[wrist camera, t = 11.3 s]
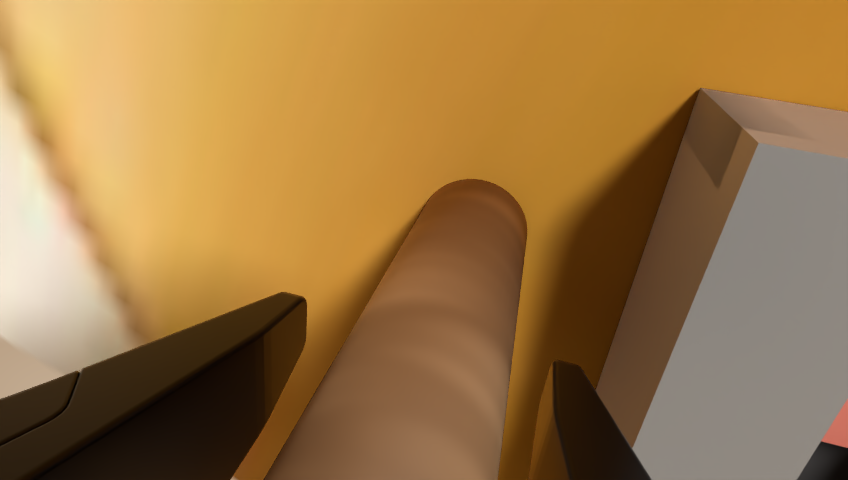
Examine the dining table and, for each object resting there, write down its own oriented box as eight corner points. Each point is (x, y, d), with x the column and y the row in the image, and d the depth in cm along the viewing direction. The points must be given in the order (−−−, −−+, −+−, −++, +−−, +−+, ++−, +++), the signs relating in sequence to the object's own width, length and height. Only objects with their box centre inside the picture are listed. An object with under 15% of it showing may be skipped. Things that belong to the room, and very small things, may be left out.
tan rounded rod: (537, 191, 13) (472, 880, 3) (515, 287, 14) (415, 1011, 4) (427, 169, 13) (47, 721, 3) (414, 265, 14) (105, 882, 4)
